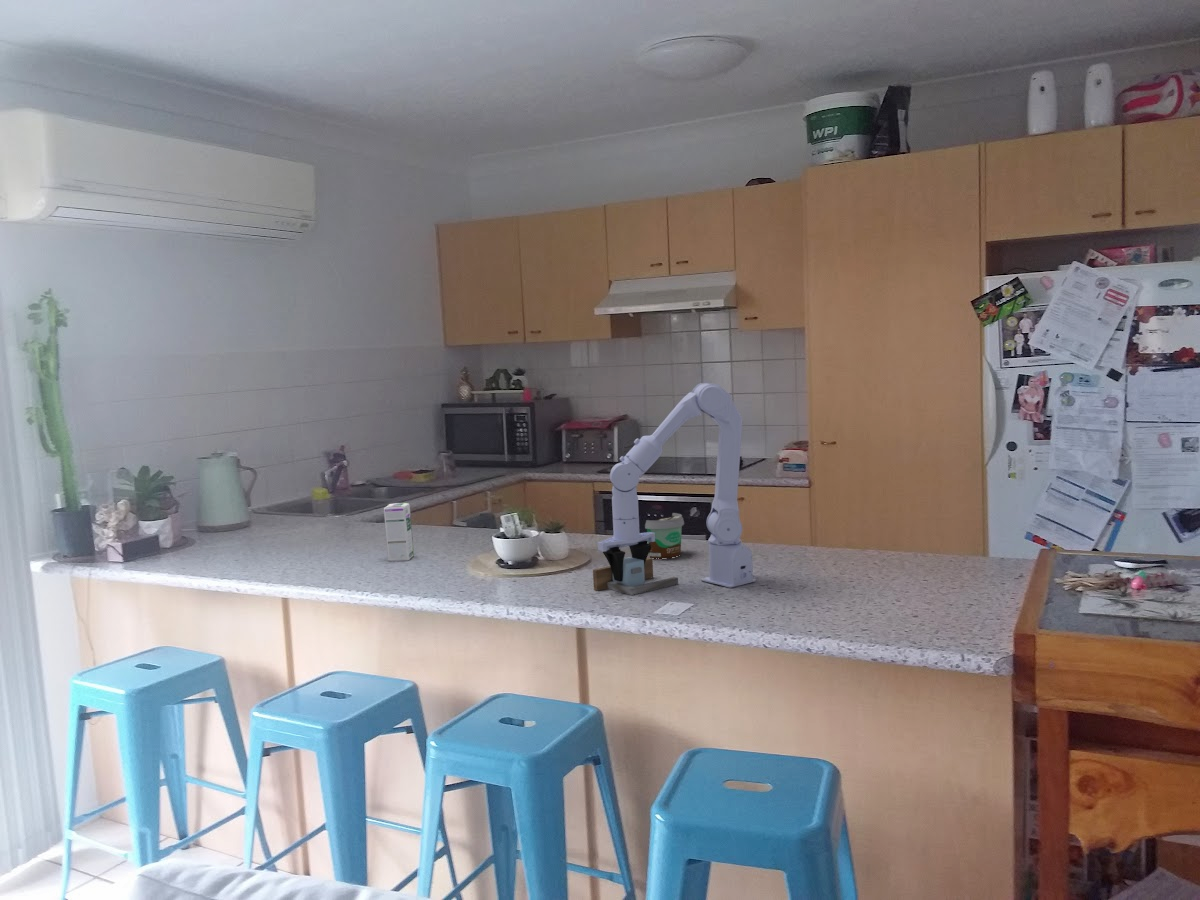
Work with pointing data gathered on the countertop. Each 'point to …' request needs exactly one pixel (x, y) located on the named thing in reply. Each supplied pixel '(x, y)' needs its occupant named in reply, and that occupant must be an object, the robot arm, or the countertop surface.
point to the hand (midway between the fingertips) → (628, 578)
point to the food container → (665, 536)
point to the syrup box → (398, 532)
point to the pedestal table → (605, 580)
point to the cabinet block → (632, 572)
